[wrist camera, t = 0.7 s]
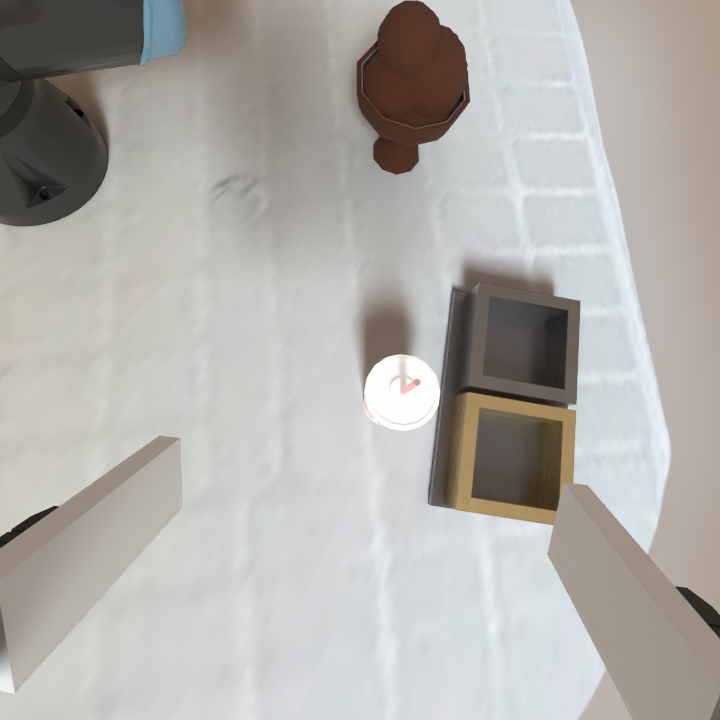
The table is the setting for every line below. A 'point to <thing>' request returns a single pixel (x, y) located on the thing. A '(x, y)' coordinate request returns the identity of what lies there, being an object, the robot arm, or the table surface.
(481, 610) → the table surface
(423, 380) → the beverage cup
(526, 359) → the square compartment tray
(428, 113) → the ice cream bowl
